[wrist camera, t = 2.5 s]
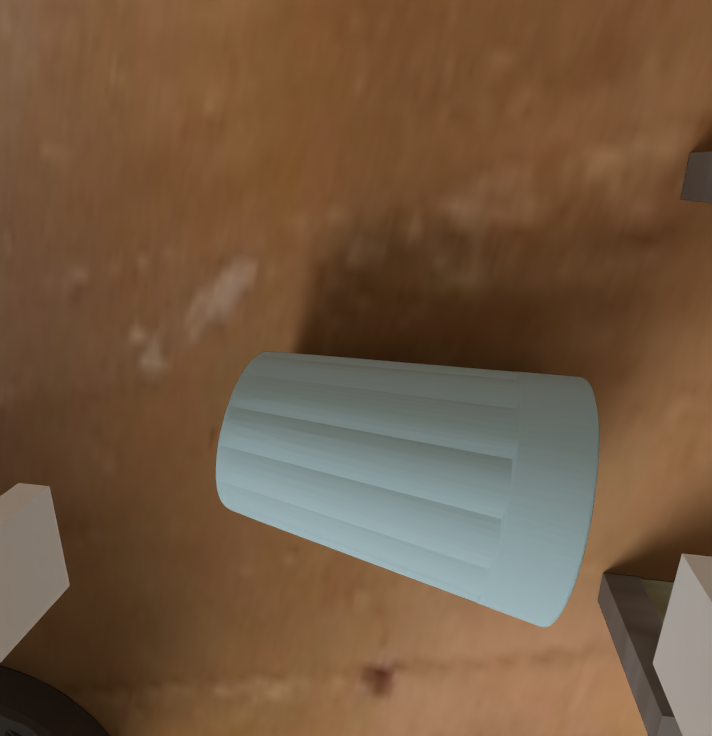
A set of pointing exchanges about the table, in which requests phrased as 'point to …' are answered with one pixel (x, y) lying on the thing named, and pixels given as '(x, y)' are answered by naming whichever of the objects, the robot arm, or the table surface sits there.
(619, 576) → the bay
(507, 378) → the cup
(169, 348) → the table surface
